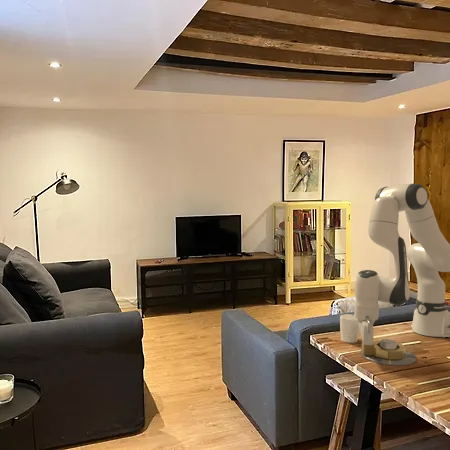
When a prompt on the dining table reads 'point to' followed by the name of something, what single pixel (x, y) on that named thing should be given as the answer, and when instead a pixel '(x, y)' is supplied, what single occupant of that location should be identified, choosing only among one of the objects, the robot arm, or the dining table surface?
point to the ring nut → (384, 351)
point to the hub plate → (392, 345)
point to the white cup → (349, 328)
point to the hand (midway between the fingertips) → (365, 348)
